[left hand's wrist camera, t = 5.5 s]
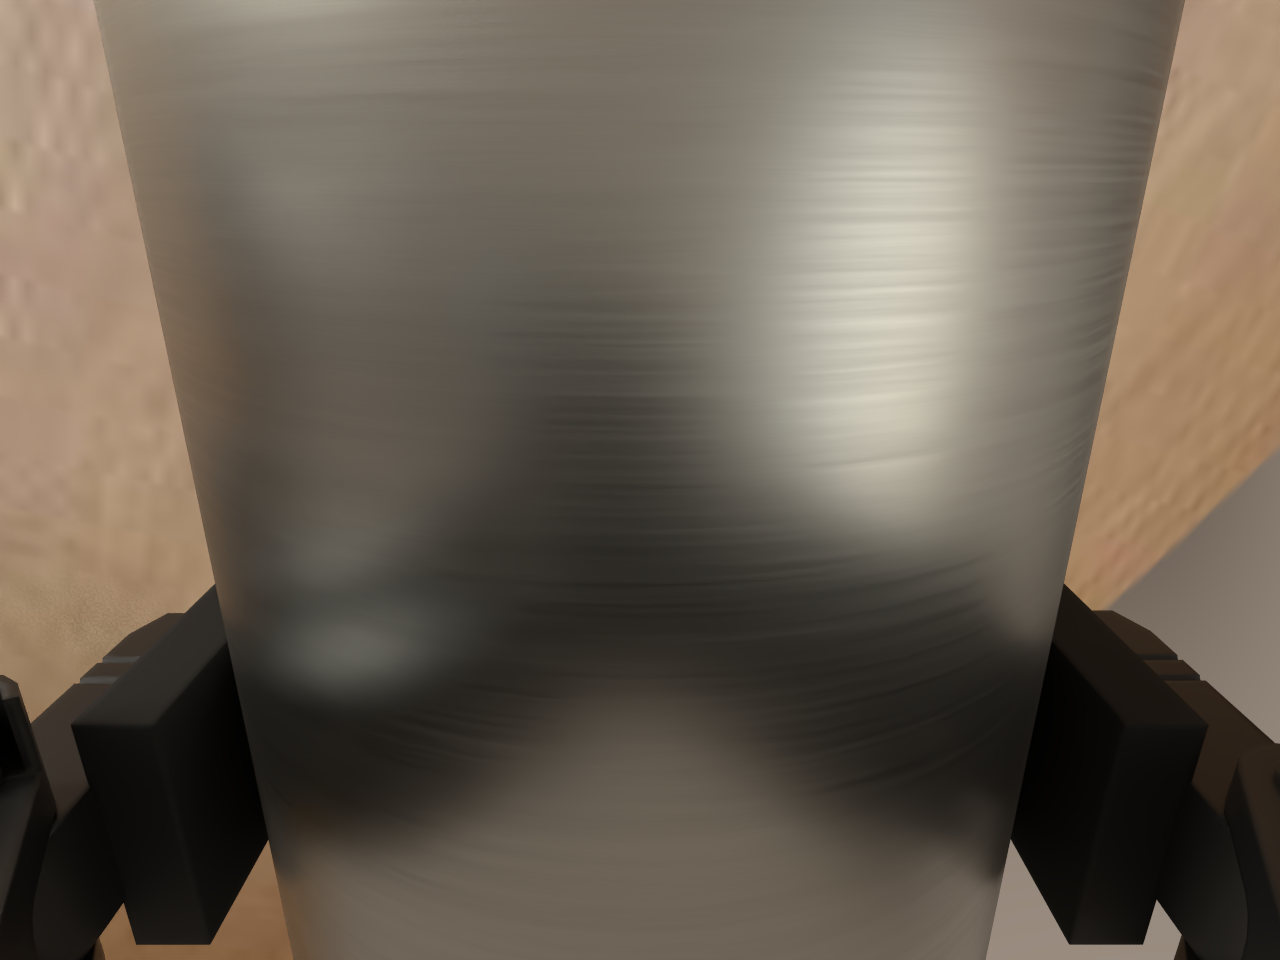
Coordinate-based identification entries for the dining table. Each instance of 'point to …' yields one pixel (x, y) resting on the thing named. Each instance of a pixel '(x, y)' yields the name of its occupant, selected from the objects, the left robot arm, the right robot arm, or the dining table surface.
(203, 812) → the left robot arm
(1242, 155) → the dining table surface
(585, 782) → the rod
